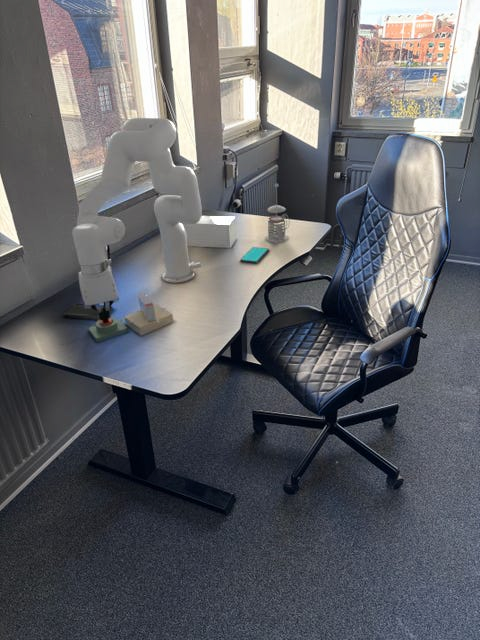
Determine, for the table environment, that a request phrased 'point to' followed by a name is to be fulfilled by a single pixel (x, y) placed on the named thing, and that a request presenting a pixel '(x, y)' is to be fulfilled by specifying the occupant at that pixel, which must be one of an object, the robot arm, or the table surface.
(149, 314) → the grey block
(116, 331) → the button box
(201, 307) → the table surface
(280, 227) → the french press
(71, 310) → the phone
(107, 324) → the button
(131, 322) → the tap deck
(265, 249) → the smartphone
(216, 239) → the white storage box
